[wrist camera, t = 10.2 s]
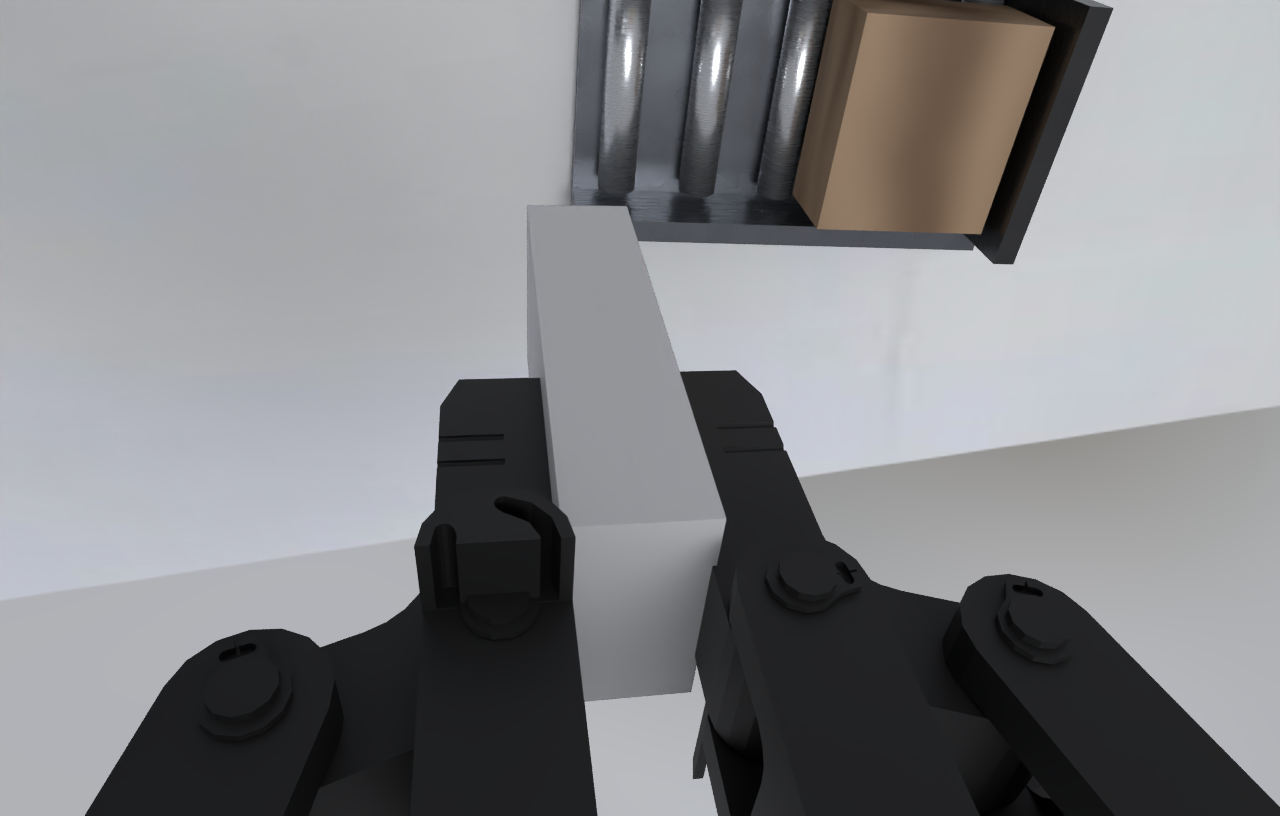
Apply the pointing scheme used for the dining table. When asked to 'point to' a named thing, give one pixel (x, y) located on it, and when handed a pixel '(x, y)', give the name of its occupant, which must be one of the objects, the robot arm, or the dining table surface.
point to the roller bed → (736, 142)
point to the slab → (916, 113)
